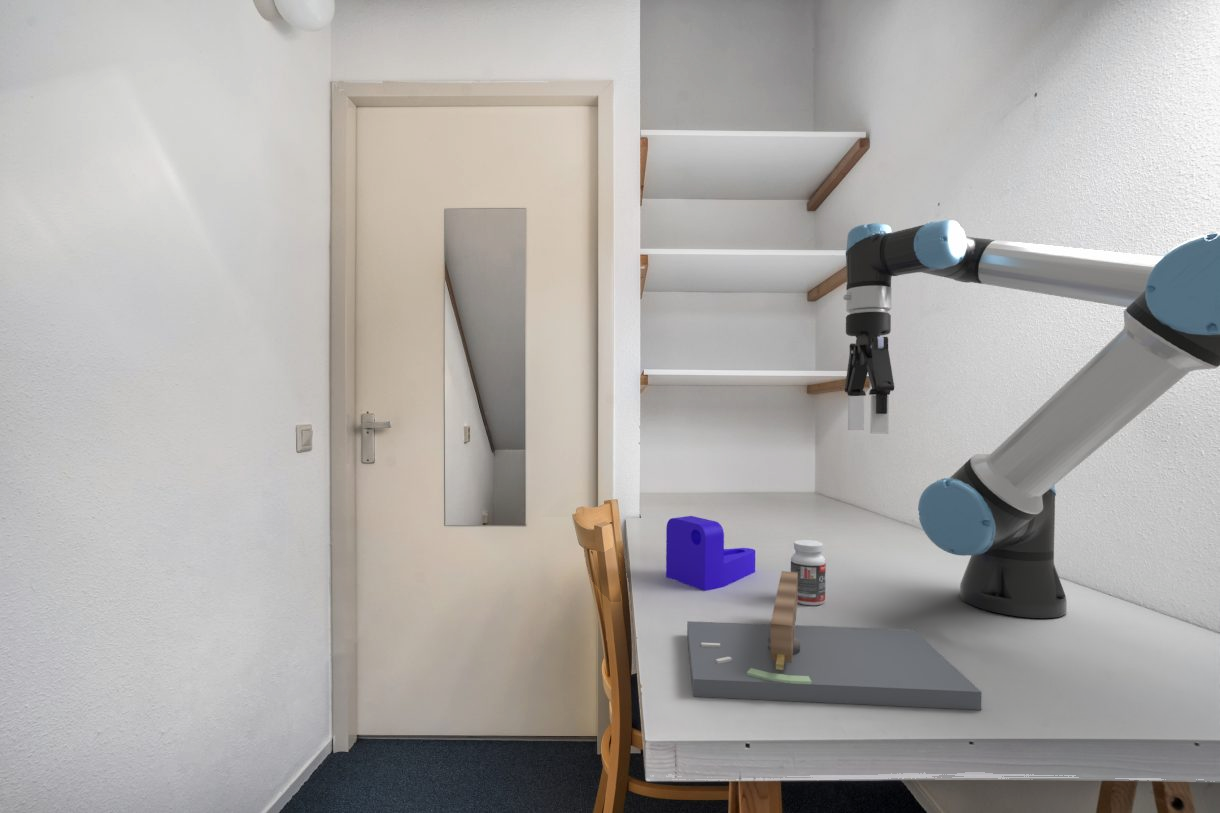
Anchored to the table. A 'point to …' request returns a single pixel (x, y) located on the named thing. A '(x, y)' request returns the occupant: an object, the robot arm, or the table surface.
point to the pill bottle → (809, 571)
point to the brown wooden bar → (784, 621)
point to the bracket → (704, 554)
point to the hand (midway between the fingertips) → (866, 431)
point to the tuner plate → (826, 667)
